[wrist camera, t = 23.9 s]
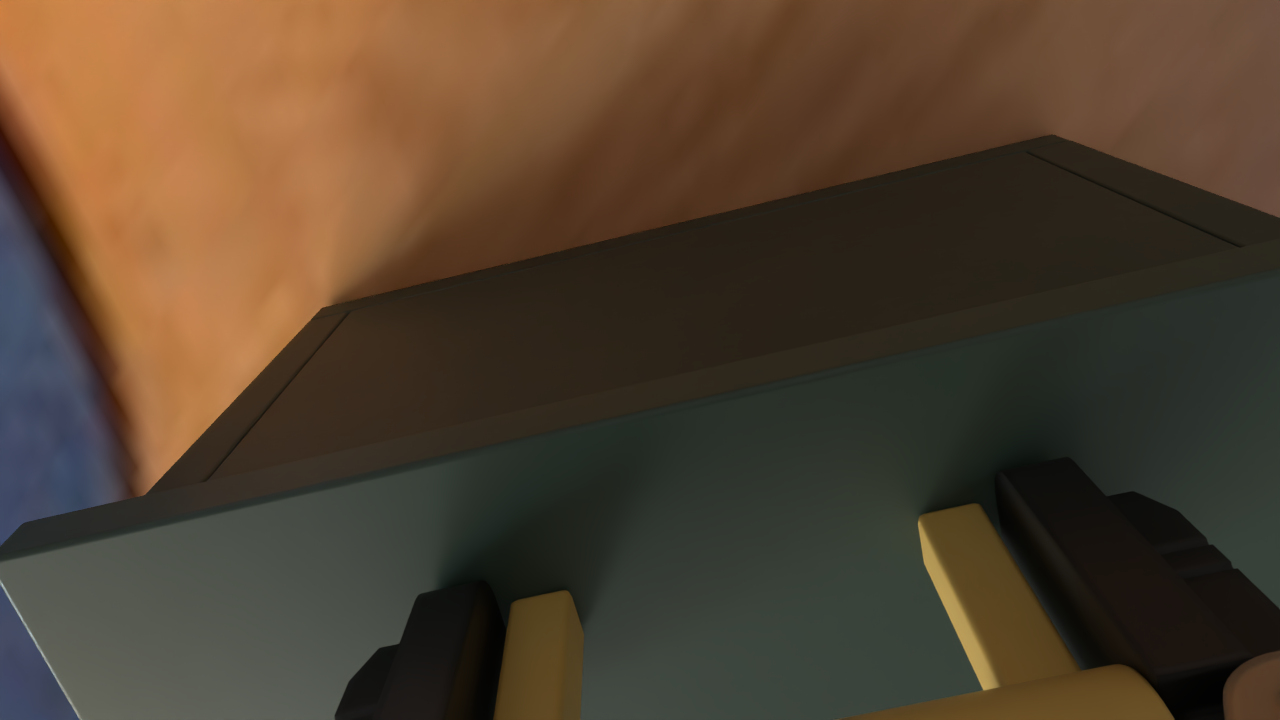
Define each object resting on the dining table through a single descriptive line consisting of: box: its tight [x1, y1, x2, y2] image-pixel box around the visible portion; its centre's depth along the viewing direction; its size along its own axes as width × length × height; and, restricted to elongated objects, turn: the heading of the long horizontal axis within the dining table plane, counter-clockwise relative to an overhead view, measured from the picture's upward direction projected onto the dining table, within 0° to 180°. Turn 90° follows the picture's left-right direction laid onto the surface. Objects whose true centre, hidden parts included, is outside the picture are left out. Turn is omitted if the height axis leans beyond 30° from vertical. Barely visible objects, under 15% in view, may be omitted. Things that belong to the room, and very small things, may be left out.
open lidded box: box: [146, 135, 1280, 495], centre depth 20 cm, size 16×16×10 cm
